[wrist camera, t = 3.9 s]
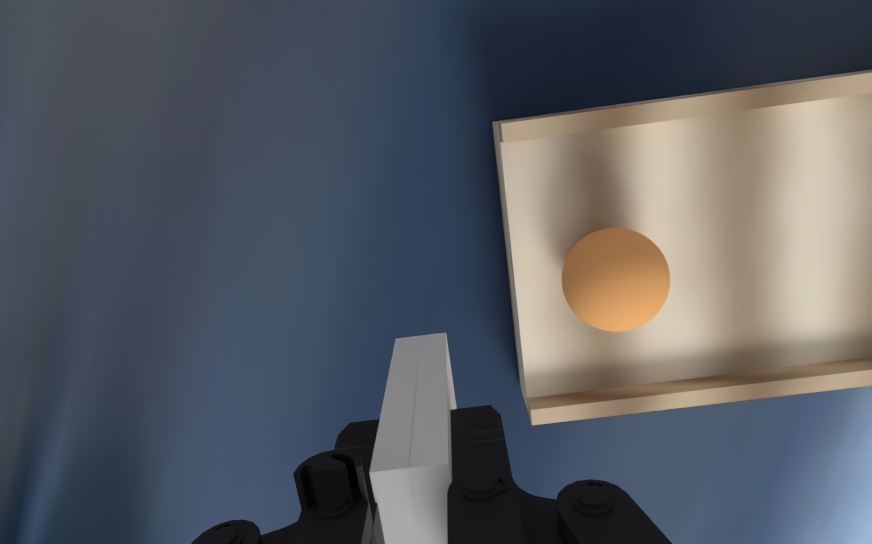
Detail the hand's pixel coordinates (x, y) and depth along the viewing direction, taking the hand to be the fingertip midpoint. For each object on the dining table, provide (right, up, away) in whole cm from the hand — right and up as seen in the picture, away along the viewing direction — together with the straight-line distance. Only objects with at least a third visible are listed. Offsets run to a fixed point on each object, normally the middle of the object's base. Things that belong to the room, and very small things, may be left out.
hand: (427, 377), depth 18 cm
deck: (+14, +5, +12) cm, 19 cm away
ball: (+8, +3, +8) cm, 11 cm away
